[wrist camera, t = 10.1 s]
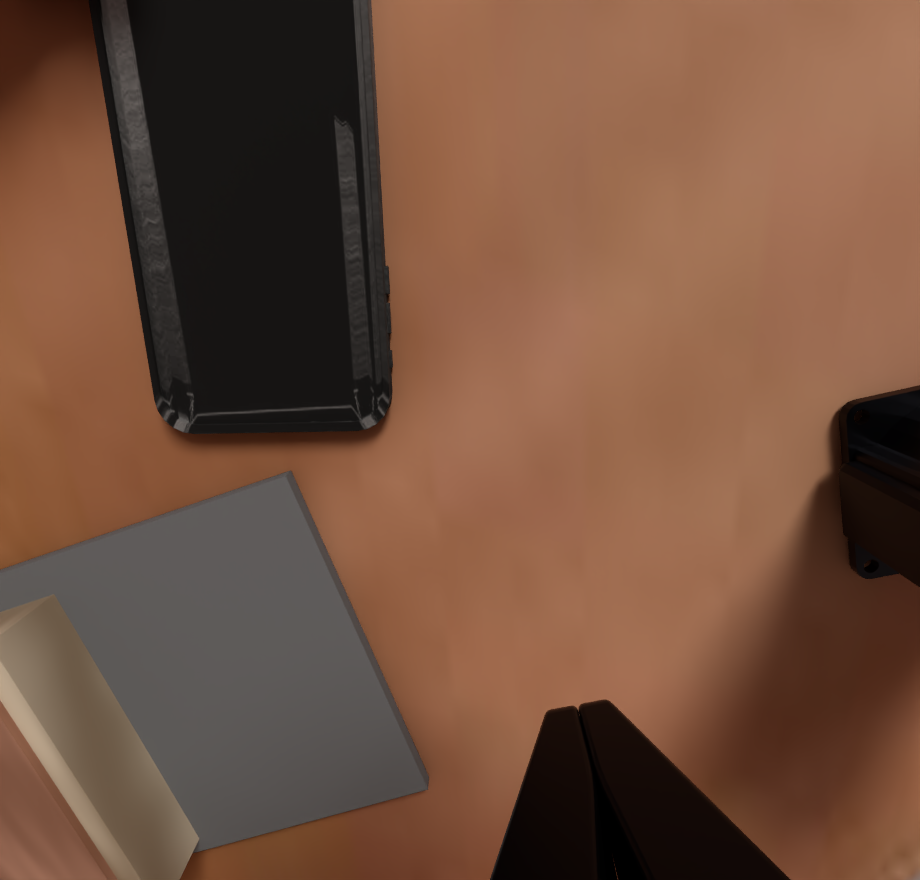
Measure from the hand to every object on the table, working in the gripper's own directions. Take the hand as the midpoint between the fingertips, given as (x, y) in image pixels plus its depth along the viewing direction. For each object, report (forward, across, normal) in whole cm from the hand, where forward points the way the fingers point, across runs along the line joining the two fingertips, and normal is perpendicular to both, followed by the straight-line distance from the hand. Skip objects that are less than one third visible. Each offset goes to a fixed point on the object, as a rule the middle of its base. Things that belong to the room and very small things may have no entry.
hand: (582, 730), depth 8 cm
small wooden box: (+11, +17, +7) cm, 21 cm away
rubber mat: (+13, +18, +7) cm, 23 cm away
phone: (+14, +6, -10) cm, 18 cm away
